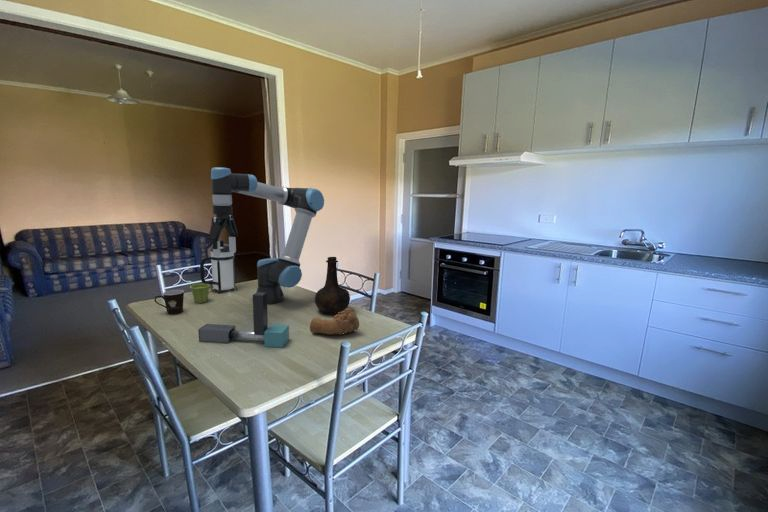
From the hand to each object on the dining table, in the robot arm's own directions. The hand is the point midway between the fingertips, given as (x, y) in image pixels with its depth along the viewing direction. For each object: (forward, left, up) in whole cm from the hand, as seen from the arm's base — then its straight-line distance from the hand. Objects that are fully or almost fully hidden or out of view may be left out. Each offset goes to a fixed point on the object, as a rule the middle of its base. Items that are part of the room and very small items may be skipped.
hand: (225, 253), depth 151 cm
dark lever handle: (-1, +26, -31) cm, 40 cm away
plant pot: (+2, -38, -32) cm, 50 cm away
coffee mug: (+17, -29, -32) cm, 46 cm away
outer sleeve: (+9, +16, -32) cm, 37 cm away
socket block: (-8, +33, -32) cm, 47 cm away
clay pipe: (-33, +39, -32) cm, 60 cm away
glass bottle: (-46, +15, -32) cm, 58 cm away
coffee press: (-13, -52, -32) cm, 62 cm away
